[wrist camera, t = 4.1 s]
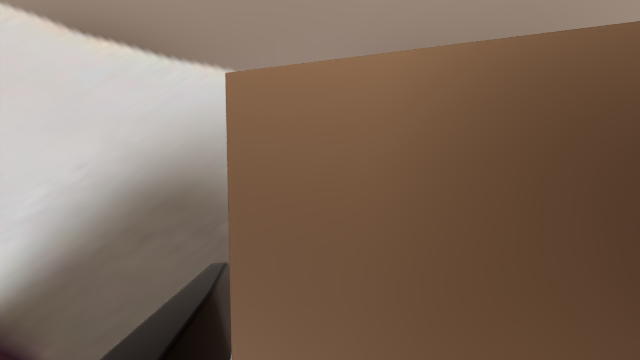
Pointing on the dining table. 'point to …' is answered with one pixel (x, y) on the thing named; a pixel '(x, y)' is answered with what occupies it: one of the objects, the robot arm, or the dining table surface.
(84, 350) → the dining table surface
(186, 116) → the dining table surface
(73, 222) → the dining table surface
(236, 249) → the walnut post
